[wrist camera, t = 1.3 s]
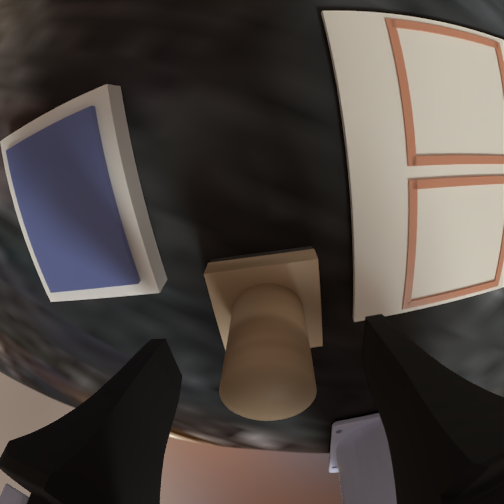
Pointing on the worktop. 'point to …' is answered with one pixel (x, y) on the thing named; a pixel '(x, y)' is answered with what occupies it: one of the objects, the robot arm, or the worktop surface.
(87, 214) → the ink pad
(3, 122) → the worktop surface
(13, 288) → the worktop surface
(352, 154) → the card sheet
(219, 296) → the stamp
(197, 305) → the worktop surface
